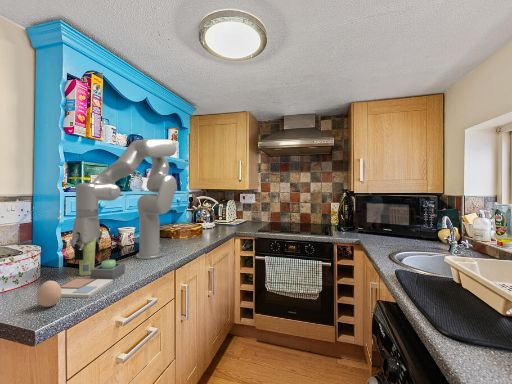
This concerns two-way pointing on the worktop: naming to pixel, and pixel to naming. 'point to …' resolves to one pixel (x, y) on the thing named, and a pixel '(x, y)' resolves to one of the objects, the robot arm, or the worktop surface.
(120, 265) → the button housing
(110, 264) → the button
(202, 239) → the worktop surface
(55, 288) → the egg
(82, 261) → the tube
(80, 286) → the board
